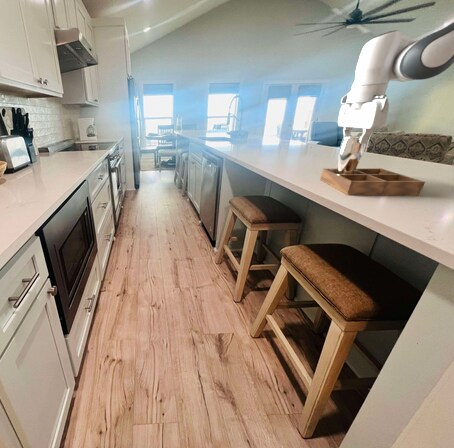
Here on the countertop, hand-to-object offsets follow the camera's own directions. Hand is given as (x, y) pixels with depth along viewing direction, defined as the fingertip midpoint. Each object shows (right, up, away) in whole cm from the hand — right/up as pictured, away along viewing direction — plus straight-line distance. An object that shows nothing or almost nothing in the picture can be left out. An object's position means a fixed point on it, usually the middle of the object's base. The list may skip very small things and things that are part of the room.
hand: (353, 142), depth 82 cm
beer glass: (+1, -12, +6) cm, 14 cm away
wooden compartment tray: (+4, -15, +1) cm, 16 cm away
